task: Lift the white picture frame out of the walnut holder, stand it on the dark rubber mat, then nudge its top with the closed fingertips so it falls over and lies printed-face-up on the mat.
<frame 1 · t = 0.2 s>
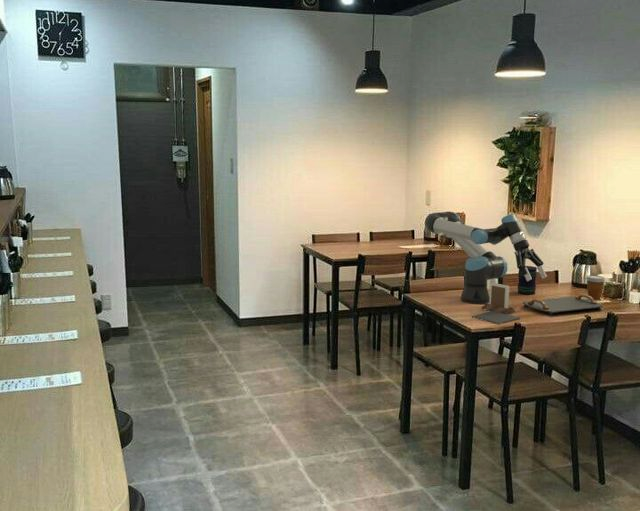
hand: (537, 279, 321), 15 cm above the table, tool tilted 35°, fingers open, 13 cm apart
rubber mat: (495, 318, 303), on the table
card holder: (498, 310, 317), on the table
white picture frame: (498, 307, 317), point 1 cm above the table, touching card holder
disposable coffee cup: (594, 298, 345), on the table
serving board: (562, 309, 322), on the table
storage jar: (526, 293, 357), on the table
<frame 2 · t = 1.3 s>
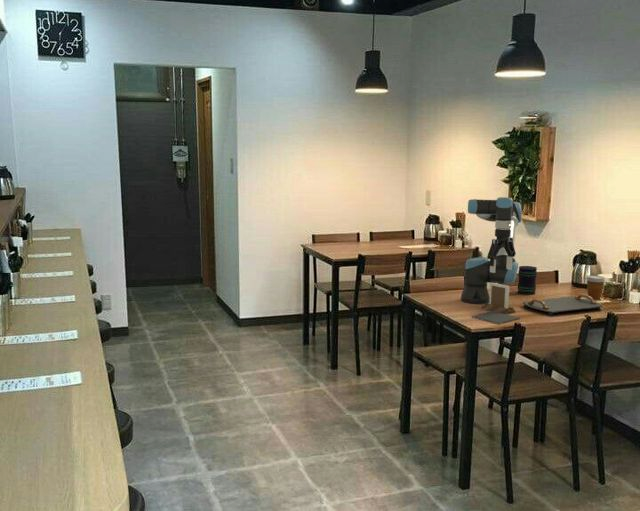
hand: (500, 270, 314), 20 cm above the table, tool pointing down, fingers open, 13 cm apart
nothing on the table moved.
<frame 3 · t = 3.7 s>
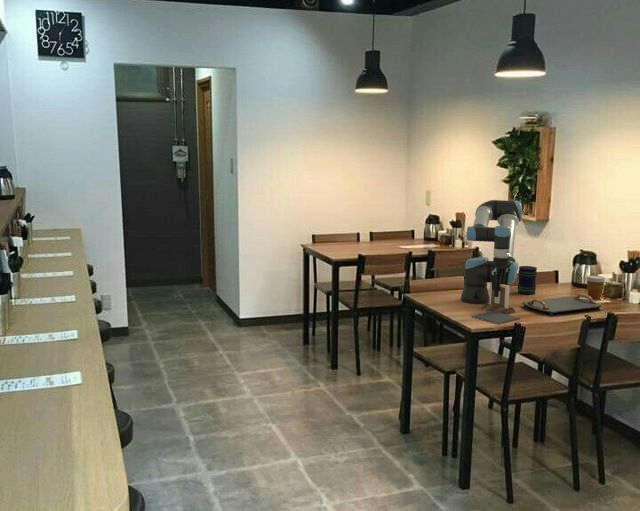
hand: (498, 302, 316), 4 cm above the table, tool pointing down, fingers closed on white picture frame, 2 cm apart
white picture frame: (498, 307, 317), point 2 cm above the table, touching gripper
everything else where it was.
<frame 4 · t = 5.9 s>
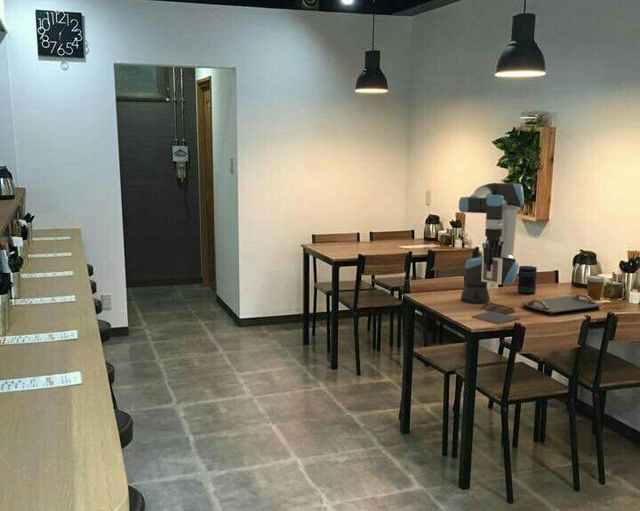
hand: (491, 277, 297), 21 cm above the table, tool pointing down, fingers closed on white picture frame, 2 cm apart
white picture frame: (491, 282, 297), point 18 cm above the table, touching gripper
everything else where it was.
when the fingers open (5 cm above the table, at t = 8.5 s): white picture frame drops 1 cm, resting on rubber mat.
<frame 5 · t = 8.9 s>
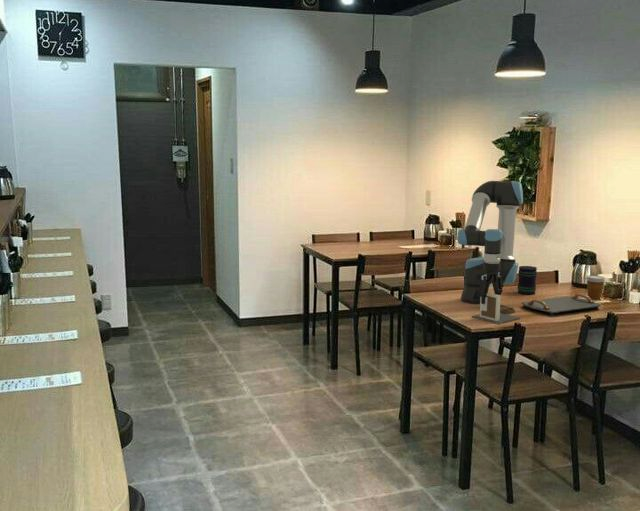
hand: (489, 309, 299), 5 cm above the table, tool pointing down, fingers open, 8 cm apart
white picture frame: (489, 318, 300), point 1 cm above the table, touching rubber mat
everything else where it was.
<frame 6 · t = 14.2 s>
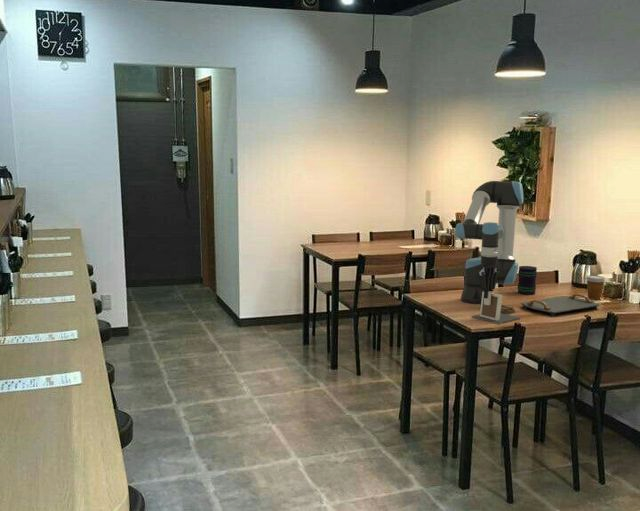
hand: (487, 304, 297), 8 cm above the table, tool pointing down, fingers closed
white picture frame: (489, 318, 300), point 1 cm above the table, tilted 6°, touching rubber mat
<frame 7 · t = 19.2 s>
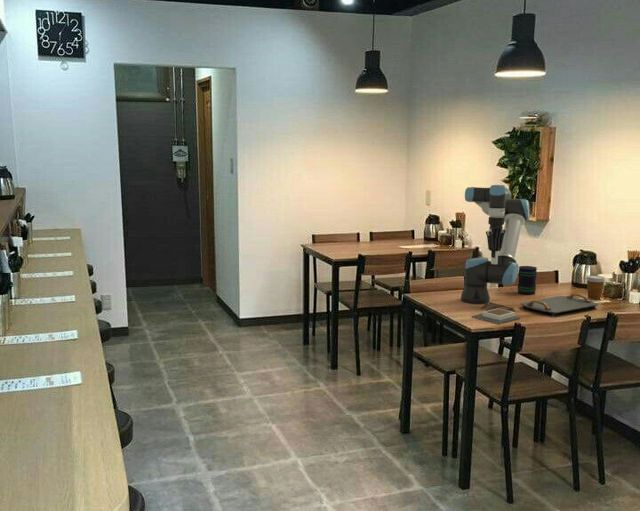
hand: (494, 263, 311), 24 cm above the table, tool pointing down, fingers closed
white picture frame: (491, 316, 300), point 2 cm above the table, tilted 90°, touching rubber mat
at the end: white picture frame tilted 90°; white picture frame inside the target area (3.7 cm from its centre), point 1.6 cm above the table; the gripper is holding nothing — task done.
